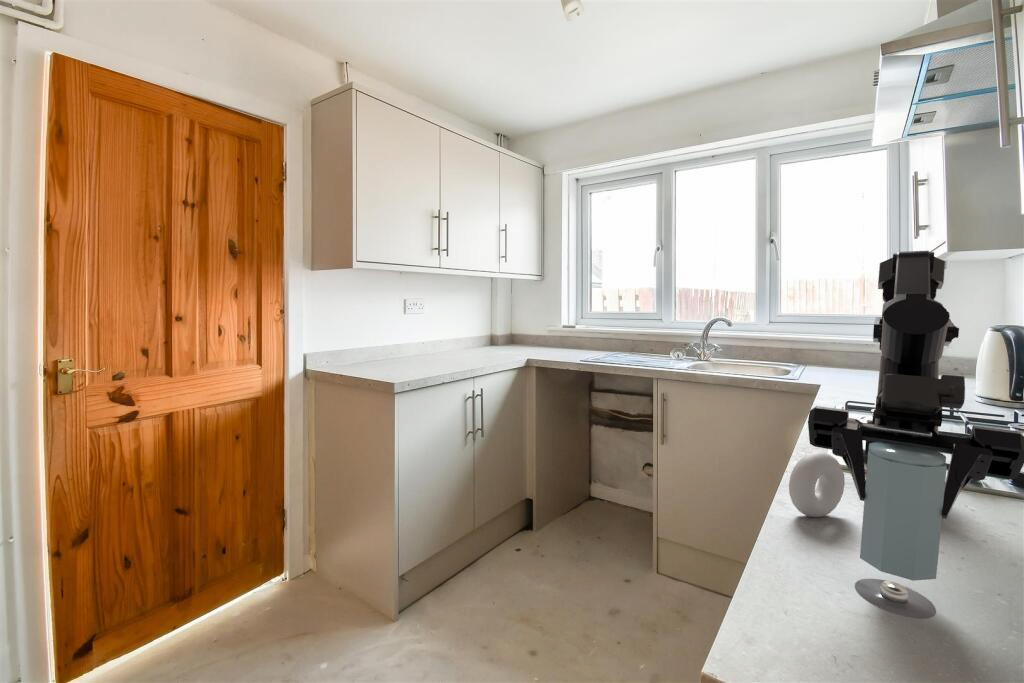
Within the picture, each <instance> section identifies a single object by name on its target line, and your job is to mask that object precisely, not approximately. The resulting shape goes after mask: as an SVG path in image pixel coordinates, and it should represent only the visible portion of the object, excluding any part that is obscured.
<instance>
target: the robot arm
mask: <svg viewBox="0 0 1024 683" xmlns="http://www.w3.org/2000/svg"><path fill="white" fill-rule="evenodd" d="M945 268H946V261H945V260H943V259H941V258H938V257H936V256H935V251H929V250H913V251H912V250H910V251H906V250H905V251H898V252H895V253H893V254H892V257H890V258H888V259H886V260H884V261H881V262H880V263H879V268H878V269H879V270H878V280H877V282H878V283H877V289H878V290H882V301H883V304H882V311H881V316H875V318H874V322H873V330H872V331H873V332H872V340H873V343H877V344H878V343H879V351H881V355H880V359H879V360H880V361H879V370H878V371H879V373H878V385H877V395H876V396H875V408H874V410H873V413H872V419H867V421H866V422H867V423H866V422H865V423H864V422H861V421H860V420H859V419H857V418H853V417H850V416H849V409H842V408H835V407H834V408H833V407H828V406H827V407H826V406H820V405H816V406H814V407H813V408H811V409H810V410H809V414H808V420H807V428H808V429H807V430H808V439H809V445H811V446H813V447H815V448H821V449H825V450H831V453H832V454H833V455H834V456H835V457H837V456H838V457H840V458H842V460H843V461H844V463H845V466H846V467H847V469H848V471H849V474H850V475H851V477H852V480H853V484H854V486H855V489H856V492H857V496H858V498H859V501H862V502H864V499H865V486H866V469H865V459H864V458H865V457H864V455H867V456H868V451H869V444H870V443H874V442H894V443H903V444H909V445H915V446H920V447H924V448H928V449H931V450H934V451H937V452H939V453H942V454H944V455H945V454H946V455H951V457H950V458H951V459H950V462H949V465H948V469H947V472H946V480H945V490H944V501H943V510H942V519H945V520H946V519H948V518H949V515H950V513H951V510H952V509H953V506H954V504H955V503H956V500H957V499H958V496H959V495H960V493H961V492H962V491H963V490H964V488H965V487H966V486H967V485H968V484H969V483H970V482H971V481H974V480H975V481H983V480H985V479H986V476H987V477H992V478H999V479H1004V480H1013V479H1018V477H1019V475H1020V474H1021V473H1020V472H1021V471H1022V469H1023V466H1024V435H1023V434H1022V433H1021V432H1019V430H1018V431H1017V430H1011V429H1006V428H1005V429H1004V428H995V427H990V426H989V427H988V426H987V427H986V426H982V425H981V426H980V425H972V428H971V430H970V434H969V436H968V437H964V436H954V435H949V434H948V435H947V434H940V433H939V427H941V426H942V424H943V408H948V409H958V410H960V409H962V407H963V406H964V404H965V399H966V382H965V376H964V375H952V374H942V375H941V376H940V378H939V375H940V374H939V372H940V370H939V365H940V364H939V363H940V359H941V358H942V356H943V353H944V349H945V347H948V346H950V344H951V343H952V342H953V340H954V339H959V334H960V333H959V332H960V327H958V326H956V325H954V322H952V320H951V317H950V316H951V315H950V312H949V311H948V310H947V309H946V308H945V306H944V305H943V304H942V303H941V302H939V301H937V300H935V299H936V297H937V290H942V288H943V285H944V283H945V271H946V270H945ZM863 441H865V447H864V442H863ZM864 448H865V450H864Z"/></svg>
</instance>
